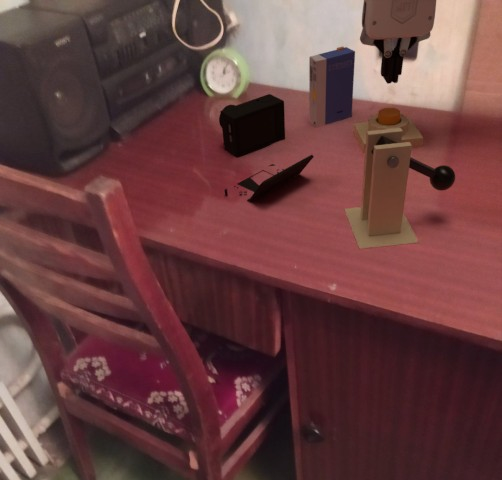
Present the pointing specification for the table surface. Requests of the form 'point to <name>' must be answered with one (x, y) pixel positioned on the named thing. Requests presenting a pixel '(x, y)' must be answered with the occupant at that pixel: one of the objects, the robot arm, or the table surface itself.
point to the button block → (405, 124)
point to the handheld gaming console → (272, 179)
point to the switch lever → (428, 170)
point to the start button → (389, 116)
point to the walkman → (331, 86)
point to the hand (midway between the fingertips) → (390, 79)
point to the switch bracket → (383, 193)
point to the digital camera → (252, 124)
